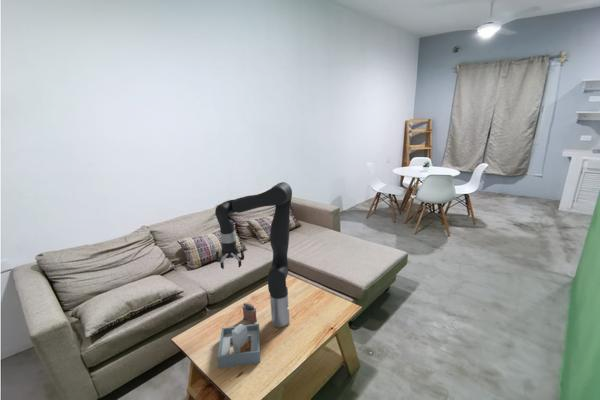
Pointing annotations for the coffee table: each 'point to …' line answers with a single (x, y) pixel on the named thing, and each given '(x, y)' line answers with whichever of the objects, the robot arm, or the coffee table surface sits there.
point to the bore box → (239, 358)
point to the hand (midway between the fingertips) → (231, 267)
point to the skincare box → (240, 338)
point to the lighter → (249, 313)
